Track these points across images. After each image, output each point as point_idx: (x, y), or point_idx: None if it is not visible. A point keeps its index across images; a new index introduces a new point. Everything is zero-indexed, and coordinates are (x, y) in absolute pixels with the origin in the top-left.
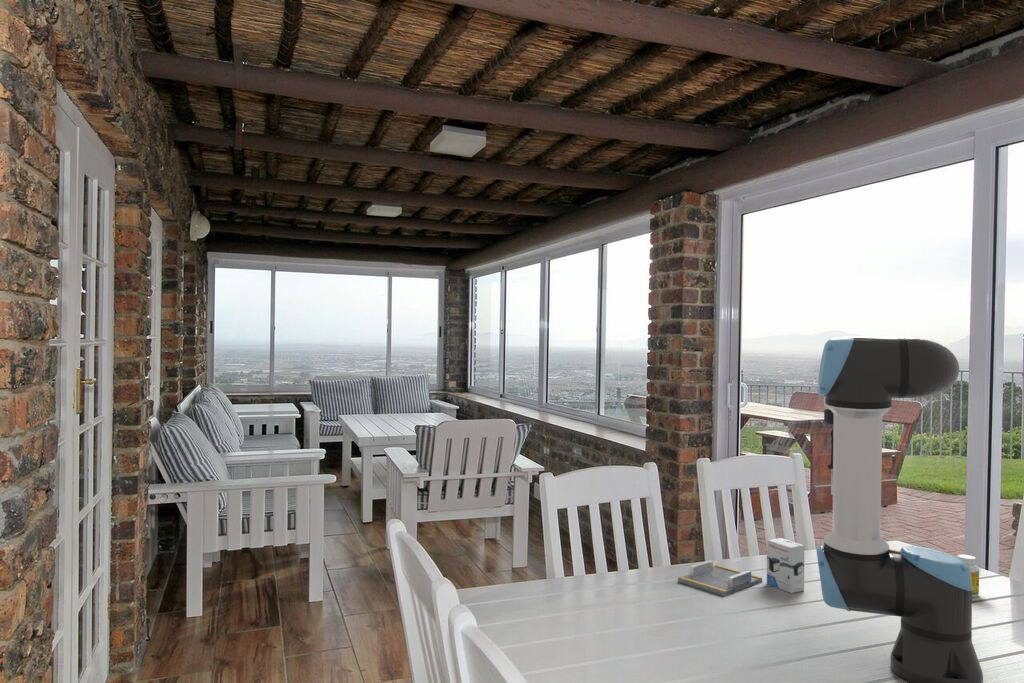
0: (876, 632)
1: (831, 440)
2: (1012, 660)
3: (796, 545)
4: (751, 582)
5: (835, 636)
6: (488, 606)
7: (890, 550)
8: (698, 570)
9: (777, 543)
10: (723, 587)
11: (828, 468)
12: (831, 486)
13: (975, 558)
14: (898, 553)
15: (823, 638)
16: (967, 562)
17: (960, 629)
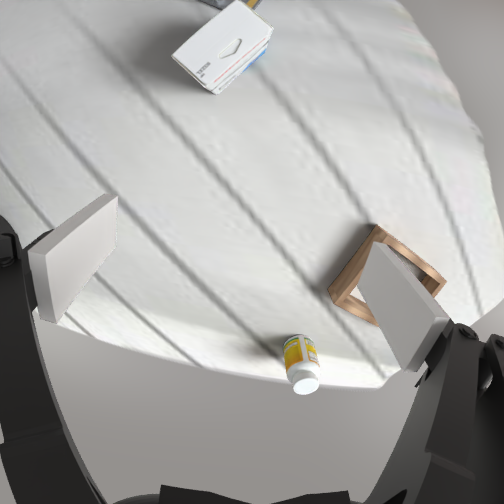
0: (64, 203)
1: (16, 499)
2: (70, 327)
3: (197, 67)
4: (209, 2)
5: (30, 151)
6: None
7: (439, 284)
8: None
9: (208, 22)
10: None
11: (3, 233)
12: (85, 209)
13: (299, 393)
14: (430, 293)
15: (19, 138)
16: (292, 381)
17: None
